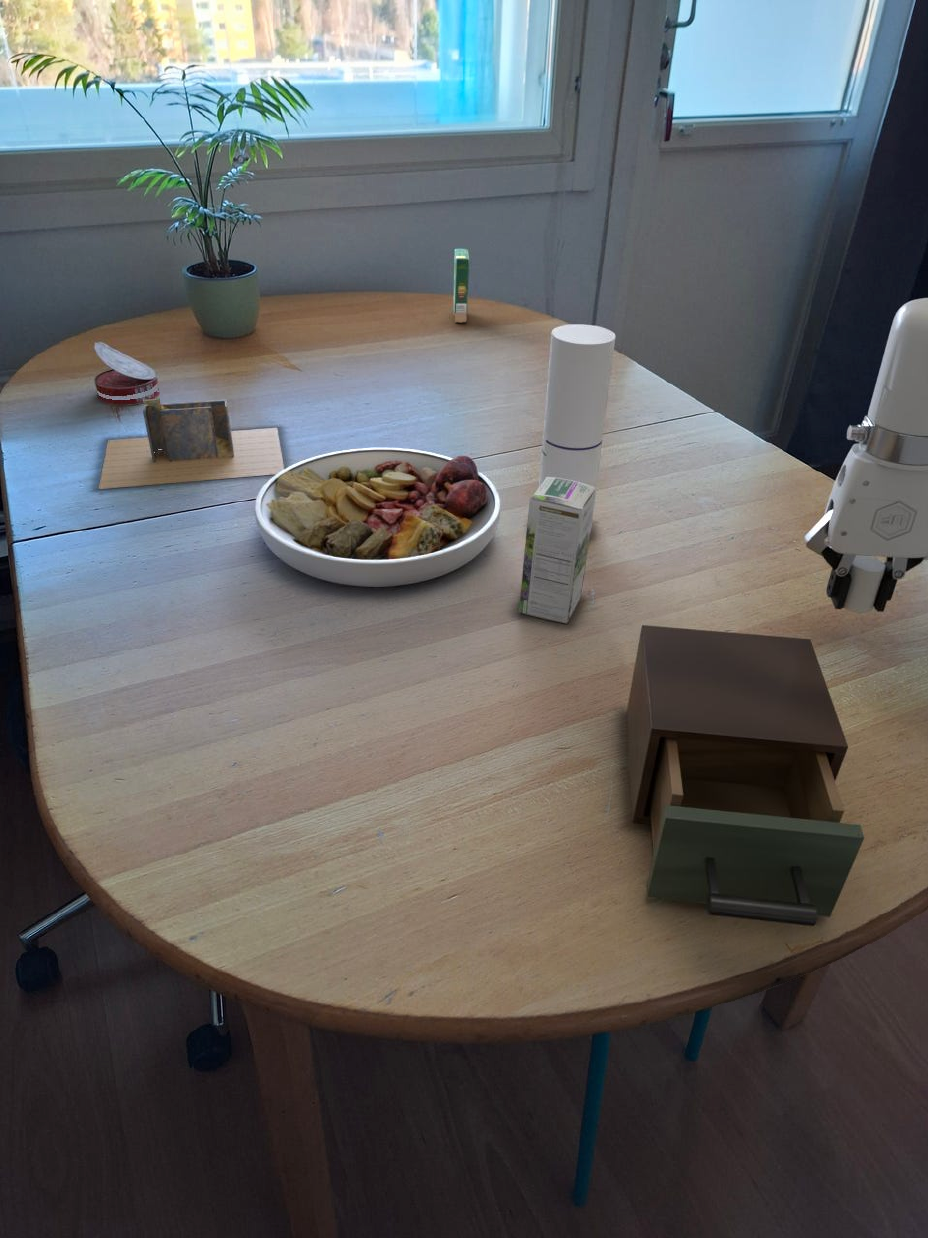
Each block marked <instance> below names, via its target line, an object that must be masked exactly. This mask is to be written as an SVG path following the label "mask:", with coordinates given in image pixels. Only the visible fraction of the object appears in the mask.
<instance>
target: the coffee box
mask: <svg viewBox="0 0 928 1238" xmlns="http://www.w3.org/2000/svg"><path fill="white" fill-rule="evenodd" d="M469 256H470V255H469V250H468V249H467V248H454V257H453V258H454V264H453V266H454V267H453V269H454V270H453V271H454V272H453V313H454V312H455V313H467V314H468V303H469V301H468V299H469V274H470V273H469V272H470V257H469Z"/></svg>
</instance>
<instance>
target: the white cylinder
mask: <svg viewBox="0 0 928 1238" xmlns="http://www.w3.org/2000/svg"><path fill="white" fill-rule="evenodd" d="M884 563H885V562H884V561H882V560H881V559H879V558H877V557H876V556H860V555H856V557H855V559H854V561H853V563H852V565H851V568H850V571H849V573H850V575H851V578H852V581H851V584H850V588H849V591H848V594H847V598H846V601H845V604H844V608H843V609H845V610H846V611H848V612H852V613H857V614H865V613H866V614H867V613H869V612H871V611H872V610H873V608H874V606H873V605H874V602H875V599H876V596H877V593H878V590H879V586H880V583H881V580H882V577H883V574H884V571H885V564H884Z"/></svg>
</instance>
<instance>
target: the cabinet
mask: <svg viewBox="0 0 928 1238" xmlns="http://www.w3.org/2000/svg"><path fill="white" fill-rule="evenodd" d="M640 629H641V630H640V634H639V640H638V646H637V650H636V656H635V662H634V667H633V673H632V680H631V685H630V690H629V696H628V701H627V702H628V703H627V708H626V716H625V717H626V731H627V733H626V734H627V749H628V750H627V751H628V766H629V767H628V768H629V785H630V786H629V787H630V802H631V818H632V823H634V824H644V825H651V814H650V802H649V788H650V784H651V779H652V774H653V769H654V765H655V760H656V755H657V750H658V746H659V741H660V737H669V738H680V739H691V740H701V741H712V742H722V743H733V744H744V745H754V746H765V747H776V748H786V749H797V750H807V751H818V752H826V755H827V758H828V762H829V765H830V768H831V771H832V774H833V777H834V780H835V781H837V778H838V775H839V773H840V770H841V767H842V764H843V762H844V759H845V756H846V754H847V751H848V749H849V744H848V742H847V740H846V736H845V733H844V731H843V728H842V725H841V722H840V719H839V716H838V714H837V710H836V708H835V705H834V702H833V700H832V696H831V693H830V691H829V688H828V685H827V682H826V679H825V677H824V674H823V671H822V669H821V666H820V662H819V660H818V657H817V653H816V652H815V649H814V646H813V643H812V640H811V639H810V638H799V637H789V636H788V637H787V636H776V635H766V634H753V633H742V632H730V631H719V630H718V631H717V630H708V629H707V630H706V629H693V628H682V627H672V626H659V625H647V624H642V625H641V628H640Z"/></svg>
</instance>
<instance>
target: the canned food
mask: <svg viewBox="0 0 928 1238" xmlns="http://www.w3.org/2000/svg"><path fill="white" fill-rule="evenodd" d="M93 349H94V351H95V354H96V355H97V357H98V358H99V359H100V361H102V363H104V364H105V365H106V366H107V367H109V368H111V369H108V370H105V371H103V372H102V371H101V372H100V373H98V374H97V375H96V376H95V377H94V378H93V379H94V385H95V390H96V389H97V390H96V394H97V399H98V401H100V402H101V403H103V404H106V405H110V406H117V407H118V406H119V407H125V406H126V407H128V406H137V405H141V404H143V400H150V399H157V398H159V395H160V393H161V391H160V392H157V391H156V392H154V393H153V394H151V395H148V396H145V397H142V398H137V399H130V400H112V399H106V398H103V397H101V396H99V395H98V393H97V391H99V392H100V393H102V394H105V395H109V396H127V395H133V394H138V393H142V392H145V391H148V390H150V389H152V388H153V387H154V386H155V385H156V384H157V383H158V384H159V379H158V374H157V372H156V371H155V370H153V369H152V368H151V367H150V366H149V365H147V364H145V363H143V362H142V361H140V360H138V359H136V358H133V357H132V356H130V355H127V354H125V353H123V352H121V351H119V350H117V349H115V348H112V346H109V345H108V344H106V343H104V342H102V341H98V342H94V347H93ZM142 399H143V400H142Z"/></svg>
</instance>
